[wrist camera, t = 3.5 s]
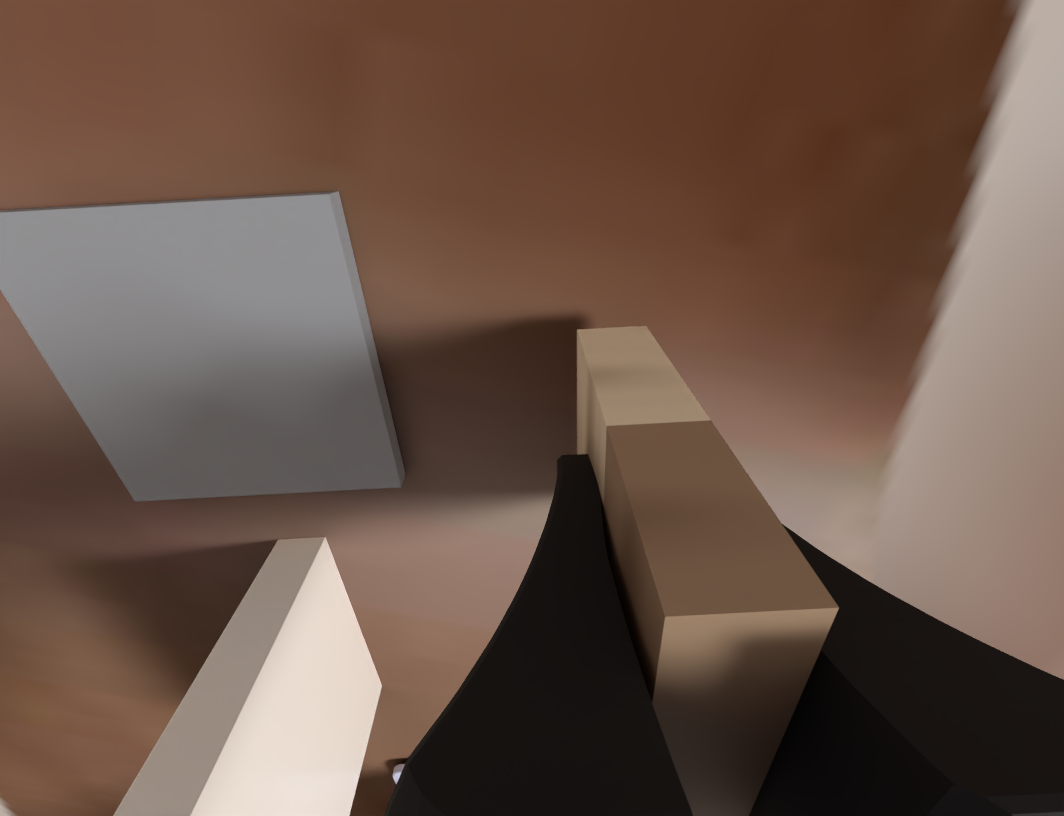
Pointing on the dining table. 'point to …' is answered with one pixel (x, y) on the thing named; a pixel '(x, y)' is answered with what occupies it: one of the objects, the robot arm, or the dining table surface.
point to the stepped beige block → (696, 571)
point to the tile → (271, 704)
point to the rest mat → (209, 341)
